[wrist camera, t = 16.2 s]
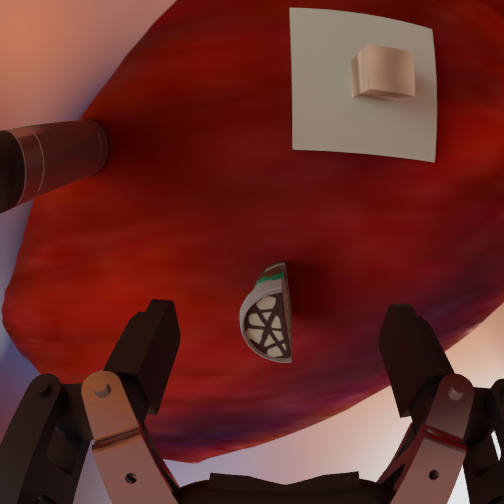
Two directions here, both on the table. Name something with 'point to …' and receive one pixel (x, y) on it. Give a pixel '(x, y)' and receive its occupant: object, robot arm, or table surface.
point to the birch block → (383, 73)
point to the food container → (269, 315)
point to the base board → (340, 87)
